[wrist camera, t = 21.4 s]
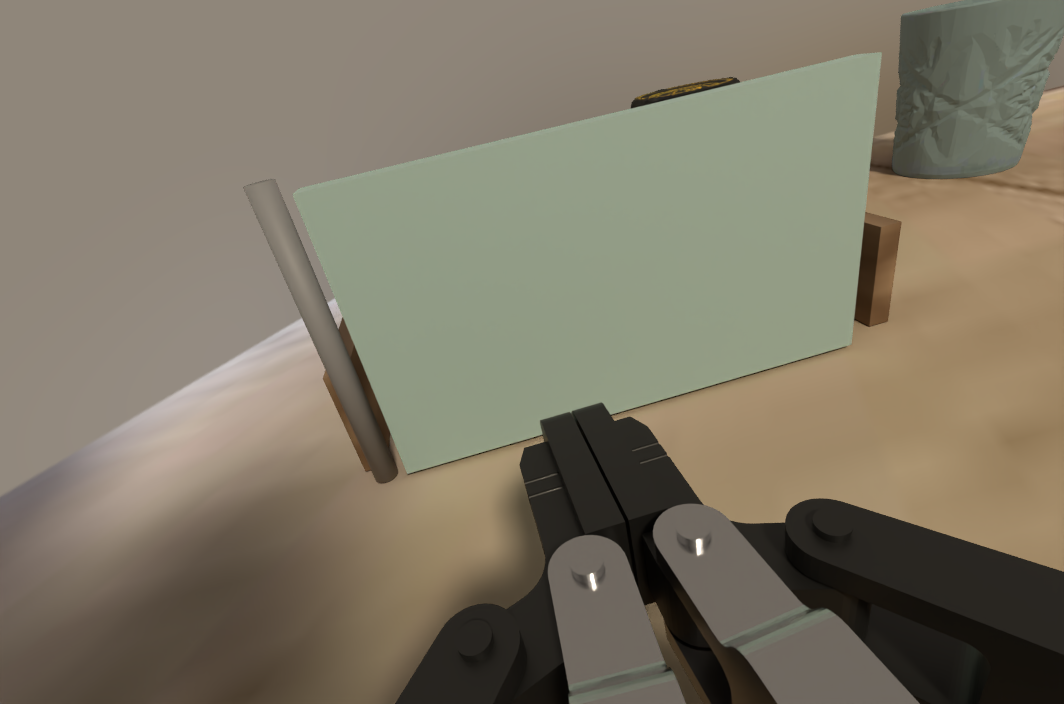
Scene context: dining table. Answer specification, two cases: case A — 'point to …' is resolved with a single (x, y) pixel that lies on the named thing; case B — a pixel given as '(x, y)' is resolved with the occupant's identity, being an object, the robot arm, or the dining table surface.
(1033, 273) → the dining table surface
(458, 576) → the dining table surface
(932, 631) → the robot arm
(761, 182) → the cover door
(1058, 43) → the blue-grey cup
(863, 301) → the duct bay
